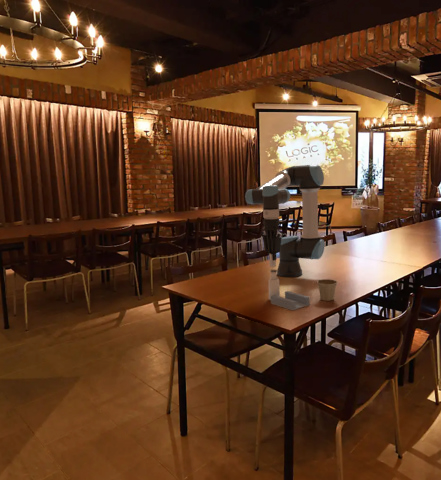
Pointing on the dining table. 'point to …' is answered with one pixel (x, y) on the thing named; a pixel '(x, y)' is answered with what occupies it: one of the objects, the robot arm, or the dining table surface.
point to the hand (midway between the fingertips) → (272, 266)
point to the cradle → (291, 300)
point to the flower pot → (327, 289)
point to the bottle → (273, 284)
